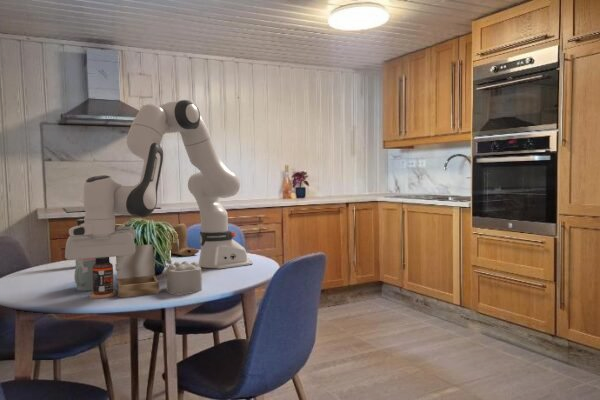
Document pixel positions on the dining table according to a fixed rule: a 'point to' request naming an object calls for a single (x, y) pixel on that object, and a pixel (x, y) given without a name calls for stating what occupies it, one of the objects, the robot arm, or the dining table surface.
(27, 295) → the dining table surface
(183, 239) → the brown boot
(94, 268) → the supplement bottle
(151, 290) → the cold frame
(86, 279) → the mug
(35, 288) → the dining table surface
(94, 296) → the saucer
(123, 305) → the dining table surface
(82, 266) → the robot arm
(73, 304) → the dining table surface
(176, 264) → the lumpy-topped squat cylinder
